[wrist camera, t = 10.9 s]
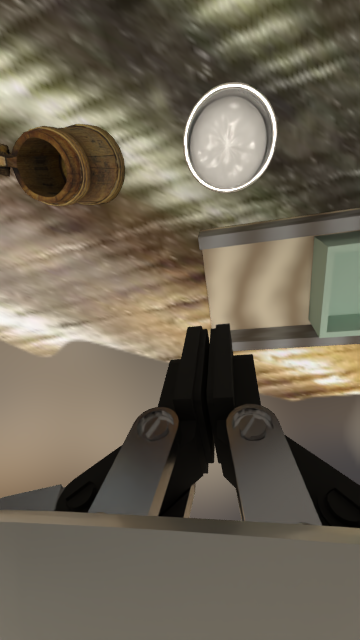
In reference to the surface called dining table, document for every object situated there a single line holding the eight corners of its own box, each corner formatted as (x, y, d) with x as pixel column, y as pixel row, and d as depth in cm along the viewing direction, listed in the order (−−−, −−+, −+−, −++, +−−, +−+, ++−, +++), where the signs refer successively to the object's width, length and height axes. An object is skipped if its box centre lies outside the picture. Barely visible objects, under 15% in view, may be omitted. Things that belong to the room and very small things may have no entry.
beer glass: (257, 111, 30) (286, 69, 17) (254, 182, 33) (276, 192, 20) (194, 118, 31) (176, 85, 18) (197, 186, 34) (183, 199, 21)
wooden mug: (19, 105, 32) (-165, 49, 17) (129, 135, 33) (47, 107, 17) (24, 186, 37) (-118, 201, 21) (120, 212, 37) (49, 246, 22)
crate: (404, 225, 32) (432, 234, 28) (384, 313, 38) (405, 332, 34) (314, 236, 34) (328, 246, 30) (308, 319, 40) (319, 338, 36)
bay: (420, 199, 32) (459, 205, 27) (390, 323, 40) (416, 347, 35) (200, 230, 37) (197, 240, 32) (213, 336, 45) (212, 358, 40)
